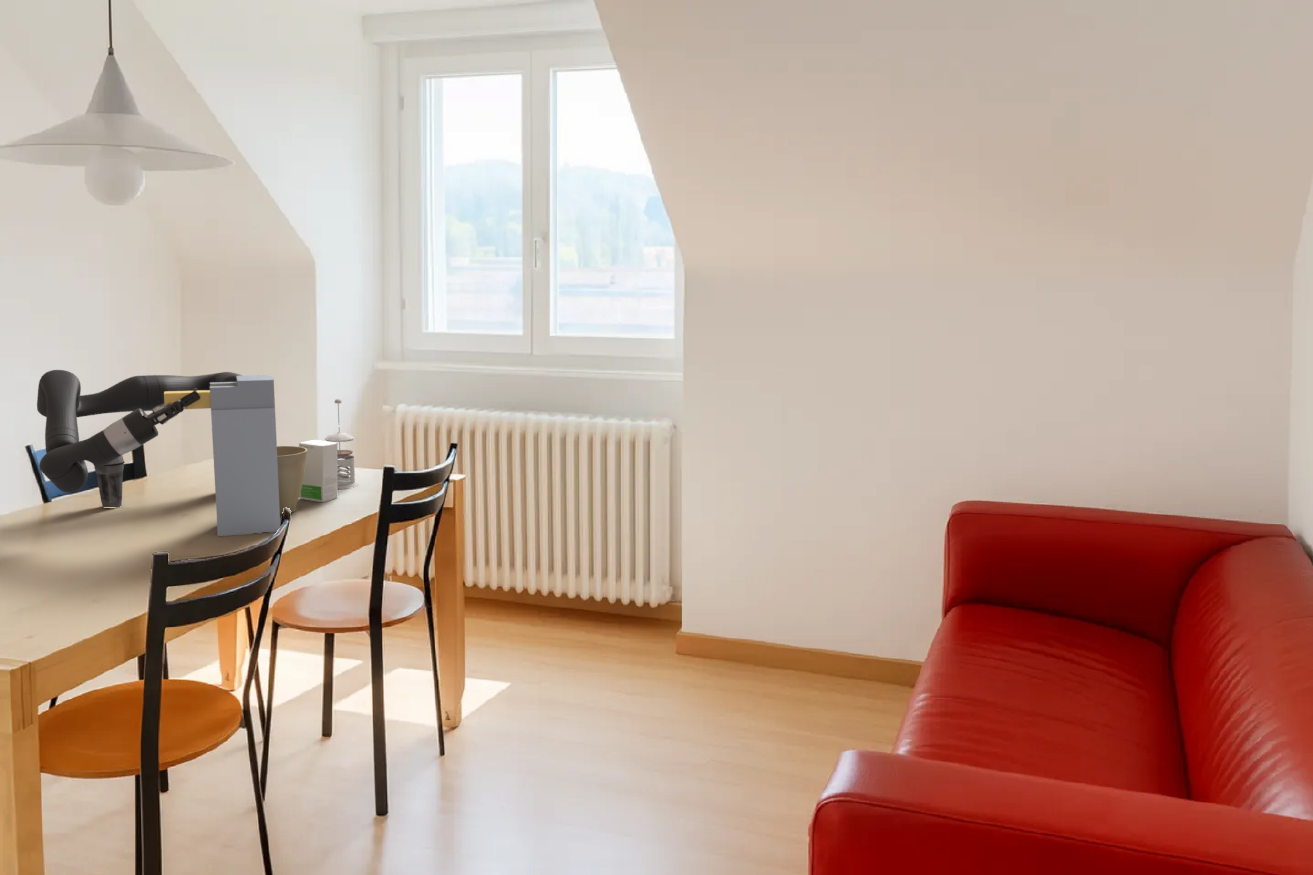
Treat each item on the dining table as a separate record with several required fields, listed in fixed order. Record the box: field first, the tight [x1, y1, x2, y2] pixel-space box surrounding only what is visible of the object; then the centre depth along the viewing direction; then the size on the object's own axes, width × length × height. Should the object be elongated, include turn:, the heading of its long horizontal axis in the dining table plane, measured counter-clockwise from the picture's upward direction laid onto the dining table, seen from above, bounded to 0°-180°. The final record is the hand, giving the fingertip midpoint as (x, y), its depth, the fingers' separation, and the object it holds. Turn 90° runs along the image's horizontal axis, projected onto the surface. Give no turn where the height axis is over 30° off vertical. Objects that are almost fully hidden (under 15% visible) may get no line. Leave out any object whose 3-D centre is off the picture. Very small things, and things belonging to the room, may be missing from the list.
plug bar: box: [164, 390, 211, 410], centre depth 260 cm, size 24×4×4 cm, turn 111°
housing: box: [210, 374, 281, 537], centre depth 264 cm, size 14×11×37 cm
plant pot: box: [277, 445, 307, 515], centre depth 283 cm, size 15×15×16 cm
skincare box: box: [298, 439, 338, 503], centre depth 298 cm, size 8×7×16 cm
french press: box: [324, 398, 359, 490], centre depth 314 cm, size 10×12×25 cm
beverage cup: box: [92, 455, 125, 508], centre depth 285 cm, size 7×7×20 cm
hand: (198, 393), depth 258 cm, fingers closed on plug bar, 3 cm apart
